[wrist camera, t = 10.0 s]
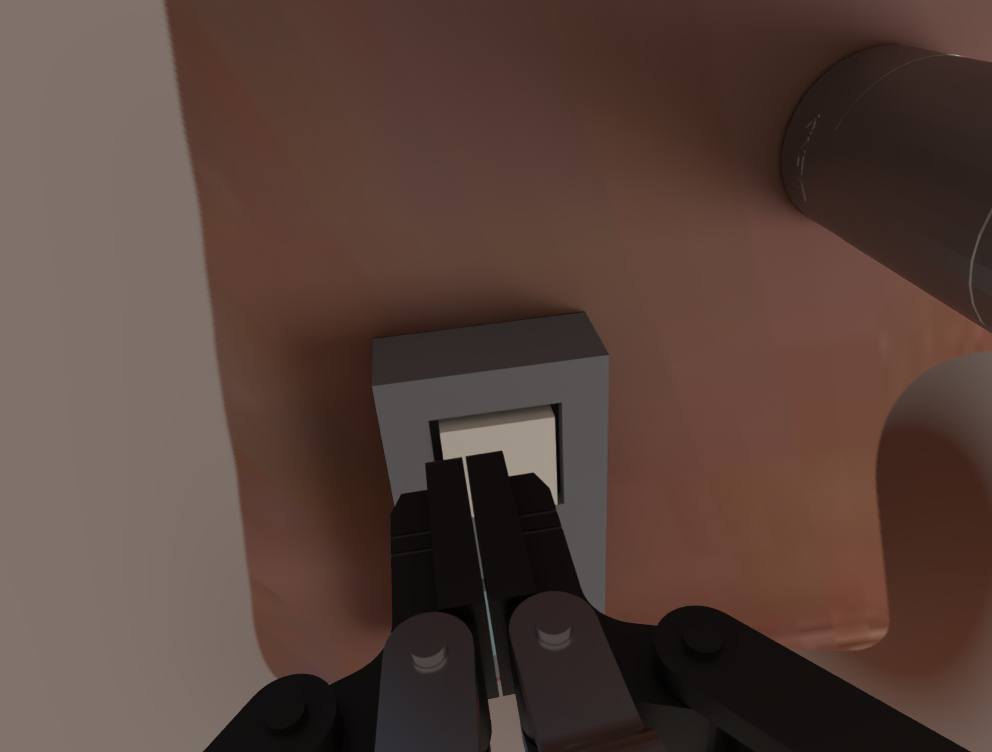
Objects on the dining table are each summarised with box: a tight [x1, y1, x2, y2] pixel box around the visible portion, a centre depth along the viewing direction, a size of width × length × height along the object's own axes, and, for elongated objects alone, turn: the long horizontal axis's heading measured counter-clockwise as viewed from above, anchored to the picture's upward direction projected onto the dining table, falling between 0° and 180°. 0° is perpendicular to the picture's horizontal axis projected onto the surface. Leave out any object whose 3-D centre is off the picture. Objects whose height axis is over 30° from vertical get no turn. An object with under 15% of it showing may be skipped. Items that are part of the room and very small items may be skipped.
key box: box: [372, 312, 609, 677], centre depth 44 cm, size 12×24×5 cm, turn 4°
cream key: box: [438, 404, 558, 517], centre depth 40 cm, size 6×6×3 cm
